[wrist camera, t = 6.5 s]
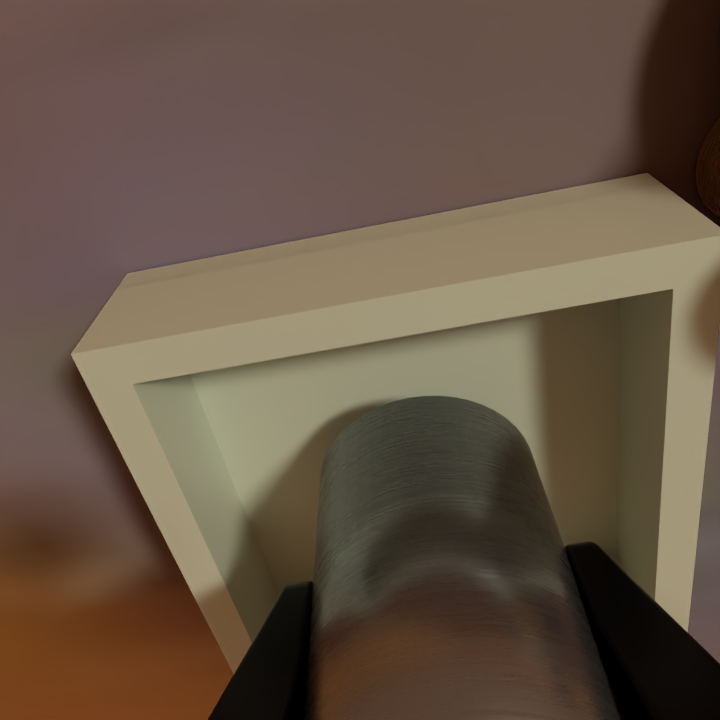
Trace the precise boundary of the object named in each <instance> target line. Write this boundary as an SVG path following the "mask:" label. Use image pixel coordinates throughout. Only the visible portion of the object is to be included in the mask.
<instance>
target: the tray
mask: <svg viewBox="0 0 720 720" xmlns="http://www.w3.org/2000/svg"><path fill="white" fill-rule="evenodd" d="M719 323H720V227H719V226H718V225H716V224H715V223H714V222H712V221H711V220H710V219H708V218H707V217H706V216H704V215H703V214H702V213H700V212H699V211H698V210H696V209H695V208H694V207H692V206H691V205H690V204H688V203H687V202H686V201H684V200H683V199H682V198H680V197H679V196H678V195H676V194H675V193H674V192H672V191H671V190H670V189H668V188H667V187H666V186H664V185H663V184H662V183H660V182H659V181H658V180H656V179H655V178H654V177H652V176H651V175H650V174H648V173H643V174H638V175H633V176H628V177H623V178H618V179H612V180H607V181H602V182H597V183H592V184H587V185H581V186H576V187H571V188H566V189H561V190H556V191H550V192H545V193H540V194H535V195H530V196H525V197H519V198H514V199H509V200H504V201H499V202H494V203H488V204H483V205H478V206H473V207H468V208H463V209H458V210H452V211H447V212H442V213H437V214H432V215H427V216H421V217H416V218H411V219H406V220H401V221H396V222H390V223H385V224H380V225H375V226H370V227H365V228H359V229H354V230H349V231H344V232H339V233H334V234H329V235H323V236H318V237H313V238H308V239H303V240H298V241H292V242H287V243H282V244H277V245H272V246H267V247H261V248H256V249H251V250H246V251H241V252H236V253H230V254H225V255H220V256H215V257H210V258H205V259H200V260H194V261H189V262H184V263H179V264H174V265H169V266H163V267H158V268H153V269H148V270H143V271H138V272H132V273H127V275H126V276H125V278H124V279H123V280H122V282H121V283H120V285H119V286H118V288H117V289H116V290H115V292H114V293H113V295H112V296H111V298H110V299H109V300H108V302H107V303H106V305H105V306H104V308H103V309H102V310H101V312H100V313H99V315H98V316H97V317H96V319H95V320H94V322H93V323H92V325H91V326H90V327H89V329H88V330H87V332H86V333H85V335H84V336H83V337H82V339H81V340H80V342H79V343H78V345H77V346H76V347H75V349H74V350H73V352H72V353H71V356H72V358H73V360H74V362H75V364H76V366H77V368H78V370H79V372H80V373H81V375H82V377H83V379H84V381H85V383H86V385H87V387H88V389H89V391H90V393H91V395H92V397H93V399H94V401H95V403H96V405H97V407H98V409H99V411H100V413H101V415H102V417H103V419H104V421H105V423H106V425H107V427H108V429H109V431H110V433H111V434H112V436H113V438H114V440H115V442H116V444H117V446H118V448H119V450H120V452H121V454H122V456H123V458H124V460H125V462H126V464H127V466H128V468H129V470H130V472H131V474H132V476H133V478H134V480H135V482H136V484H137V486H138V488H139V490H140V492H141V494H142V495H143V497H144V499H145V501H146V503H147V505H148V507H149V509H150V511H151V513H152V515H153V517H154V519H155V521H156V523H157V525H158V527H159V529H160V531H161V533H162V535H163V537H164V539H165V541H166V543H167V545H168V547H169V549H170V551H171V553H172V555H173V556H174V558H175V560H176V562H177V564H178V566H179V568H180V570H181V572H182V574H183V576H184V578H185V580H186V582H187V584H188V586H189V588H190V590H191V592H192V594H193V596H194V598H195V600H196V602H197V604H198V606H199V608H200V610H201V612H202V614H203V616H204V617H205V619H206V621H207V623H208V625H209V627H210V629H211V631H212V633H213V635H214V637H215V639H216V641H217V643H218V645H219V647H220V649H221V651H222V653H223V655H224V657H225V659H226V661H227V663H228V665H229V667H230V669H231V671H232V673H233V675H234V673H235V672H236V670H237V668H238V666H239V665H240V663H241V661H242V659H243V658H244V656H245V654H246V653H247V651H248V649H249V647H250V646H251V644H252V642H253V640H254V639H255V637H256V635H257V633H258V632H259V630H260V628H261V626H262V625H263V623H264V621H265V620H266V618H267V616H268V614H269V613H270V611H271V609H272V607H273V606H274V604H275V602H276V600H277V599H278V597H279V595H280V593H281V592H282V590H283V588H284V587H285V586H286V585H288V584H291V583H297V582H304V581H312V582H313V578H314V563H315V548H316V533H317V518H318V503H319V488H320V476H321V468H322V465H323V462H324V458H325V456H326V454H327V452H328V450H329V448H330V446H331V445H332V443H333V442H334V440H335V439H336V438H337V436H338V435H339V434H340V433H341V432H342V431H343V430H344V429H345V428H346V427H347V426H348V425H350V424H351V423H352V422H353V421H355V420H356V419H357V418H359V417H361V416H362V415H364V414H365V413H367V412H369V411H371V410H373V409H375V408H377V407H379V406H382V405H385V404H387V403H390V402H393V401H397V400H401V399H406V398H410V397H419V396H448V397H457V398H461V399H466V400H470V401H473V402H476V403H479V404H482V405H484V406H486V407H488V408H490V409H492V410H495V411H496V412H498V413H499V414H501V415H502V416H504V417H505V418H507V419H508V420H509V421H510V422H511V423H512V424H513V425H515V426H516V427H517V429H518V430H519V431H520V432H521V434H522V435H523V436H524V438H525V440H526V441H527V443H528V445H529V447H530V450H531V453H532V455H533V458H534V461H535V464H536V467H537V470H538V472H539V475H540V478H541V481H542V484H543V487H544V490H545V492H546V495H547V498H548V501H549V504H550V507H551V509H552V512H553V515H554V518H555V521H556V524H557V527H558V529H559V532H560V535H561V538H562V541H563V544H564V546H566V545H568V544H575V543H582V542H594V543H596V544H597V545H598V546H599V547H600V548H601V549H602V550H603V551H604V552H606V553H607V554H608V555H609V556H610V557H611V558H612V559H613V560H614V561H615V562H616V563H617V564H618V565H619V566H620V567H621V568H622V569H623V570H624V571H625V572H626V573H627V574H628V575H629V576H630V577H631V578H632V579H633V580H634V581H635V582H636V583H637V584H638V585H639V586H640V587H641V588H642V589H643V590H644V591H646V592H647V593H648V594H649V595H650V596H651V597H652V598H653V599H654V600H655V601H656V602H657V603H658V604H659V605H660V606H661V607H662V608H663V609H664V610H665V611H666V612H667V613H668V614H669V615H670V616H671V617H672V618H673V619H674V620H675V621H676V622H677V623H678V624H679V625H680V626H681V627H682V628H683V629H684V630H686V631H687V632H688V623H689V613H690V604H691V594H692V584H693V575H694V565H695V555H696V546H697V536H698V526H699V517H700V507H701V497H702V488H703V478H704V468H705V459H706V449H707V439H708V430H709V420H710V410H711V401H712V391H713V381H714V372H715V362H716V352H717V343H718V333H719Z"/></svg>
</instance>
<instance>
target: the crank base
mask: <svg viewBox="0 0 720 720" xmlns="http://www.w3.org/2000/svg"><path fill="white" fill-rule="evenodd" d="M695 181H696V187H697V190H698V193H699V196H700V198H701V199H702V201H703V202H704V204H705V205H706V206H707V207H708V208H709V209H710V210H711V211H712V212H713V213H715V214H716V215H717V216H719V217H720V118H719V119H718V120H717V121H716V122H715V124H714V125H713V126H712V128H711V129H710V131H709V132H708V134H707V135H706V137H705V139H704V141H703V143H702V145H701V148H700V150H699V153H698V157H697V161H696V168H695Z"/></svg>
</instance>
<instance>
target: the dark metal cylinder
mask: <svg viewBox="0 0 720 720" xmlns="http://www.w3.org/2000/svg"><path fill="white" fill-rule="evenodd" d="M304 720H625V717H624V714H623V712H622V709H621V706H620V703H619V700H618V697H617V694H616V692H615V689H614V686H613V683H612V680H611V677H610V675H609V672H608V669H607V666H606V663H605V660H604V658H603V655H602V652H601V649H600V646H599V643H598V641H597V638H596V635H595V632H594V629H593V627H592V624H591V621H590V618H589V616H588V613H587V610H586V607H585V604H584V601H583V599H582V596H581V593H580V590H579V587H578V584H577V581H576V579H575V576H574V573H573V570H572V567H571V564H570V561H569V559H568V556H567V553H566V549H565V546H564V544H563V541H562V538H561V535H560V532H559V529H558V527H557V524H556V521H555V518H554V515H553V512H552V509H551V507H550V504H549V501H548V498H547V495H546V492H545V490H544V487H543V484H542V481H541V478H540V475H539V472H538V470H537V467H536V464H535V461H534V458H533V455H532V453H531V450H530V447H529V445H528V443H527V441H526V440H525V438H524V436H523V435H522V434H521V432H520V431H519V430H518V429H517V427H516V426H515V425H513V424H512V423H511V422H510V421H509V420H508V419H507V418H505V417H504V416H502V415H501V414H499V413H498V412H496V411H495V410H492V409H490V408H488V407H486V406H484V405H482V404H479V403H476V402H473V401H470V400H466V399H461V398H457V397H448V396H419V397H410V398H406V399H401V400H397V401H393V402H390V403H387V404H385V405H382V406H379V407H377V408H375V409H373V410H371V411H369V412H367V413H365V414H364V415H362V416H361V417H359V418H357V419H356V420H355V421H353V422H352V423H351V424H350V425H348V426H347V427H346V428H345V429H344V430H343V431H342V432H341V433H340V434H339V435H338V436H337V438H336V439H335V440H334V442H333V443H332V445H331V446H330V448H329V450H328V452H327V454H326V456H325V458H324V462H323V465H322V468H321V476H320V488H319V503H318V518H317V533H316V548H315V563H314V578H313V594H312V609H311V623H310V638H309V653H308V668H307V683H306V697H305V712H304Z"/></svg>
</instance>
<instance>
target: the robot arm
mask: <svg viewBox="0 0 720 720" xmlns="http://www.w3.org/2000/svg"><path fill="white" fill-rule="evenodd" d="M565 549H566V553H567V556H568V559H569V561H570V564H571V567H572V570H573V573H574V576H575V579H576V581H577V584H578V587H579V590H580V593H581V596H582V599H583V601H584V604H585V607H586V610H587V613H588V616H589V618H590V621H591V624H592V627H593V629H594V632H595V635H596V638H597V641H598V643H599V646H600V649H601V652H602V655H603V658H604V660H605V663H606V666H607V669H608V672H609V675H610V677H611V680H612V683H613V686H614V689H615V692H616V694H617V697H618V700H619V703H620V706H621V709H622V712H623V714H624V717H625V720H720V664H719V663H718V662H717V661H716V660H715V659H714V658H713V657H712V656H711V655H710V654H709V653H708V652H707V651H706V650H705V649H704V648H703V647H702V646H701V645H700V644H699V643H698V642H697V641H696V640H695V639H694V638H693V637H692V636H691V635H690V634H689V633H688V632H687V631H686V630H684V629H683V628H682V627H681V626H680V625H679V624H678V623H677V622H676V621H675V620H674V619H673V618H672V617H671V616H670V615H669V614H668V613H667V612H666V611H665V610H664V609H663V608H662V607H661V606H660V605H659V604H658V603H657V602H656V601H655V600H654V599H653V598H652V597H651V596H650V595H649V594H648V593H647V592H646V591H644V590H643V589H642V588H641V587H640V586H639V585H638V584H637V583H636V582H635V581H634V580H633V579H632V578H631V577H630V576H629V575H628V574H627V573H626V572H625V571H624V570H623V569H622V568H621V567H620V566H619V565H618V564H617V563H616V562H615V561H614V560H613V559H612V558H611V557H610V556H609V555H608V554H607V553H606V552H604V551H603V550H602V549H601V548H600V547H599V546H598V545H597V544H596V543H594V542H582V543H575V544H568V545H566V546H565ZM312 594H313V582H312V581H304V582H297V583H291V584H288V585H286V586H285V587H284V588H283V590H282V592H281V593H280V595H279V597H278V599H277V600H276V602H275V604H274V606H273V607H272V609H271V611H270V613H269V614H268V616H267V618H266V620H265V621H264V623H263V625H262V626H261V628H260V630H259V632H258V633H257V635H256V637H255V639H254V640H253V642H252V644H251V646H250V647H249V649H248V651H247V653H246V654H245V656H244V658H243V659H242V661H241V663H240V665H239V666H238V668H237V670H236V672H235V673H234V675H233V677H232V679H231V680H230V682H229V684H228V685H227V687H226V689H225V691H224V692H223V694H222V696H221V698H220V699H219V701H218V703H217V705H216V706H215V708H214V710H213V712H212V713H211V715H210V717H209V718H208V720H304V712H305V697H306V683H307V668H308V653H309V638H310V623H311V609H312Z"/></svg>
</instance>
